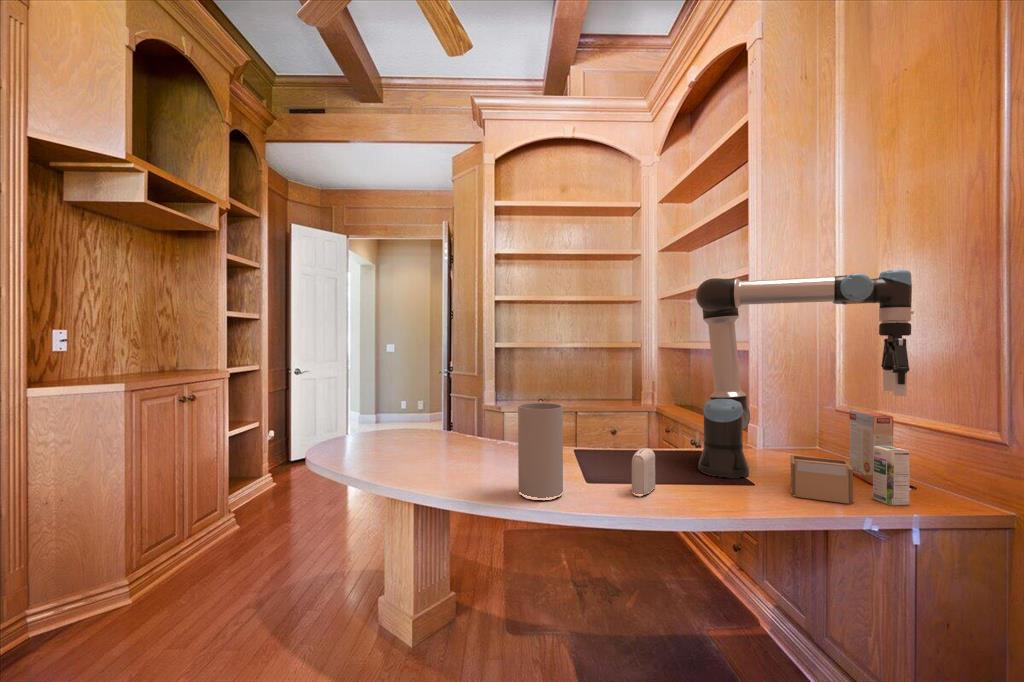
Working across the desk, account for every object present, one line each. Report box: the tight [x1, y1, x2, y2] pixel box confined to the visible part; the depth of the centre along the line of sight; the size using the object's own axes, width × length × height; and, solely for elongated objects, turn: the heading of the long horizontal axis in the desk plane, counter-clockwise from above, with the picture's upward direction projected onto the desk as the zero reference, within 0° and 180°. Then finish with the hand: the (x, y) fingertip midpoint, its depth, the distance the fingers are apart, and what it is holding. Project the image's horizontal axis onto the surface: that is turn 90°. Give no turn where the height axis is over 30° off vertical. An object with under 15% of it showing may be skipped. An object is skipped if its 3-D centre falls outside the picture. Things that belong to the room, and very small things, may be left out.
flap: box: [794, 459, 850, 505], centre depth 128 cm, size 12×2×10 cm, turn 61°
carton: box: [790, 454, 854, 504], centre depth 134 cm, size 14×11×9 cm
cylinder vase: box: [517, 402, 564, 498], centre depth 134 cm, size 12×12×25 cm
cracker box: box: [849, 409, 895, 485], centre depth 147 cm, size 14×6×21 cm, turn 168°
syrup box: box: [872, 446, 911, 506], centre depth 127 cm, size 6×6×14 cm
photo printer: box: [631, 447, 656, 495], centre depth 136 cm, size 10×4×12 cm, turn 144°
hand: (894, 393), depth 142 cm, fingers open, 13 cm apart
